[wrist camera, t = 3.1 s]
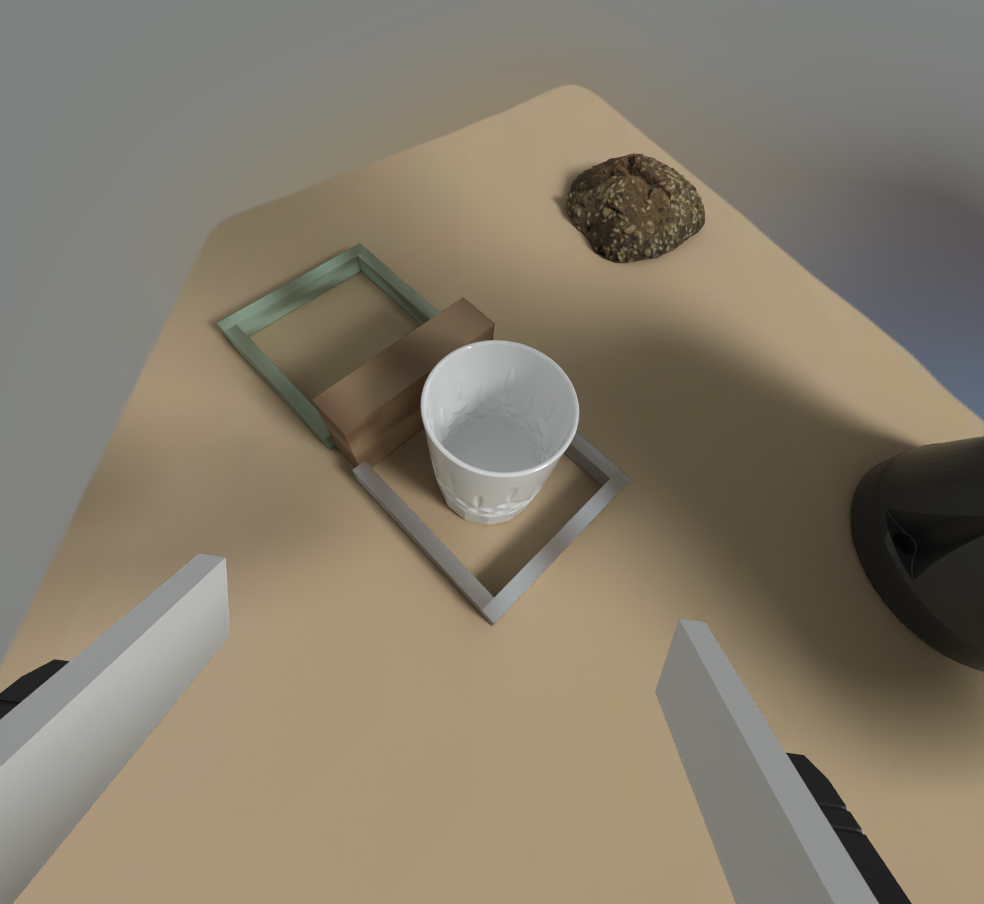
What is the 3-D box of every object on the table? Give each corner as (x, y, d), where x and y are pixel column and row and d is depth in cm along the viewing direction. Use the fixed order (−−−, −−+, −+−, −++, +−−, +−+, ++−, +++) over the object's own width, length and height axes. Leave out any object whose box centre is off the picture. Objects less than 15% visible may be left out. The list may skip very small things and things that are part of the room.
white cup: (433, 426, 33) (426, 335, 24) (541, 430, 34) (573, 343, 25) (426, 533, 30) (414, 473, 21) (546, 536, 30) (585, 479, 21)
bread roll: (715, 238, 45) (744, 190, 40) (616, 280, 41) (636, 232, 37) (634, 163, 49) (652, 112, 44) (539, 195, 45) (548, 143, 41)
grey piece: (363, 258, 40) (348, 193, 34) (622, 487, 32) (657, 450, 27) (226, 337, 35) (184, 276, 30) (492, 625, 27) (501, 615, 22)
